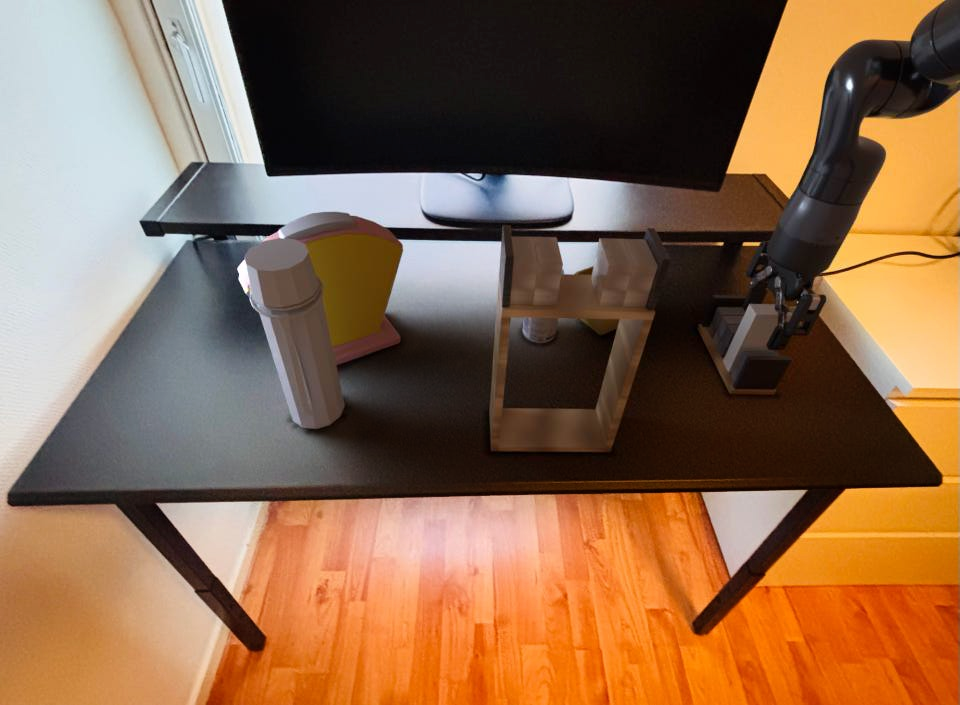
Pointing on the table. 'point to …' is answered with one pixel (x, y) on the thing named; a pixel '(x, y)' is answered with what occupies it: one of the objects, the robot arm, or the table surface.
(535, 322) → the energy drink
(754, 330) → the white book
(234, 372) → the table surface
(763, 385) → the grey rack
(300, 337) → the water bottle
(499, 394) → the birch stand
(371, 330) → the yellow napkin holder
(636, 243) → the wooden book holder
